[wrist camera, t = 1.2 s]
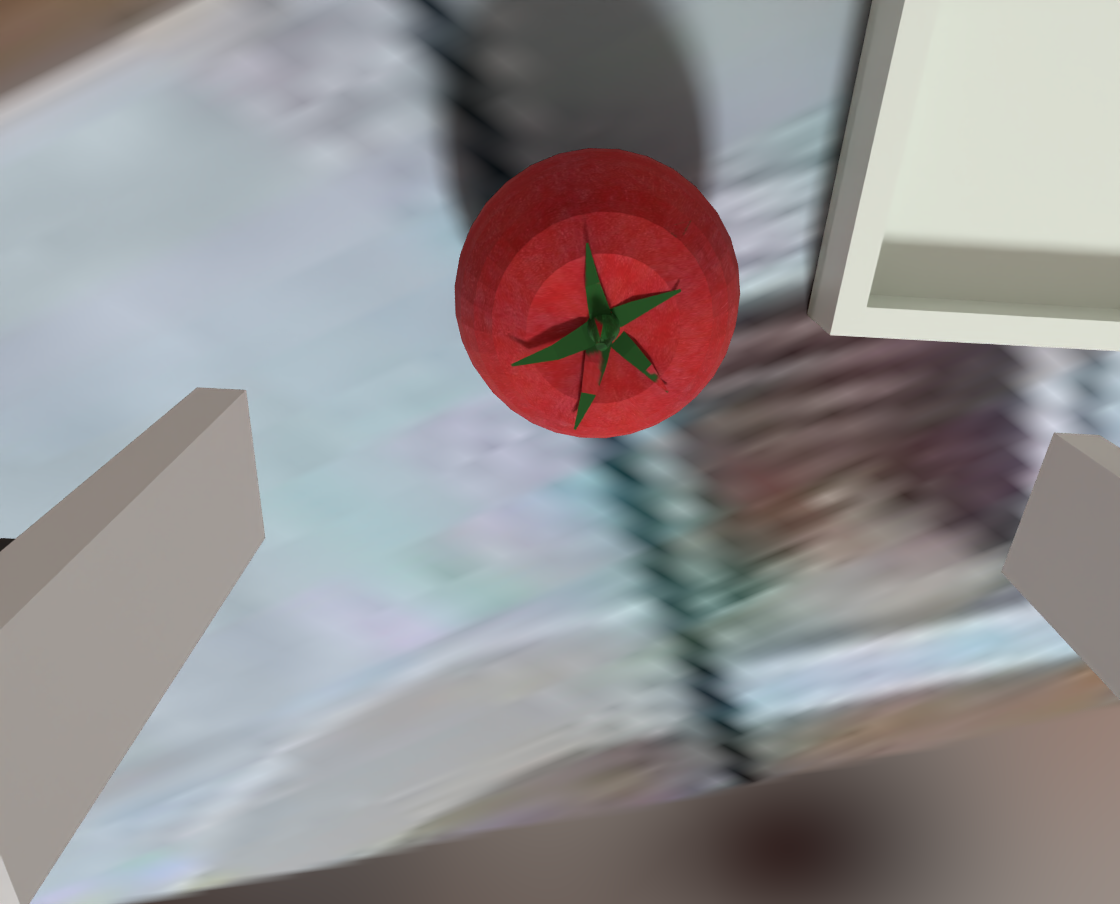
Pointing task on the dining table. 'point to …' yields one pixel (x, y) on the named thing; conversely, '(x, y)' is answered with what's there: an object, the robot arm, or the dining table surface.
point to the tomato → (597, 293)
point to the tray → (979, 177)
